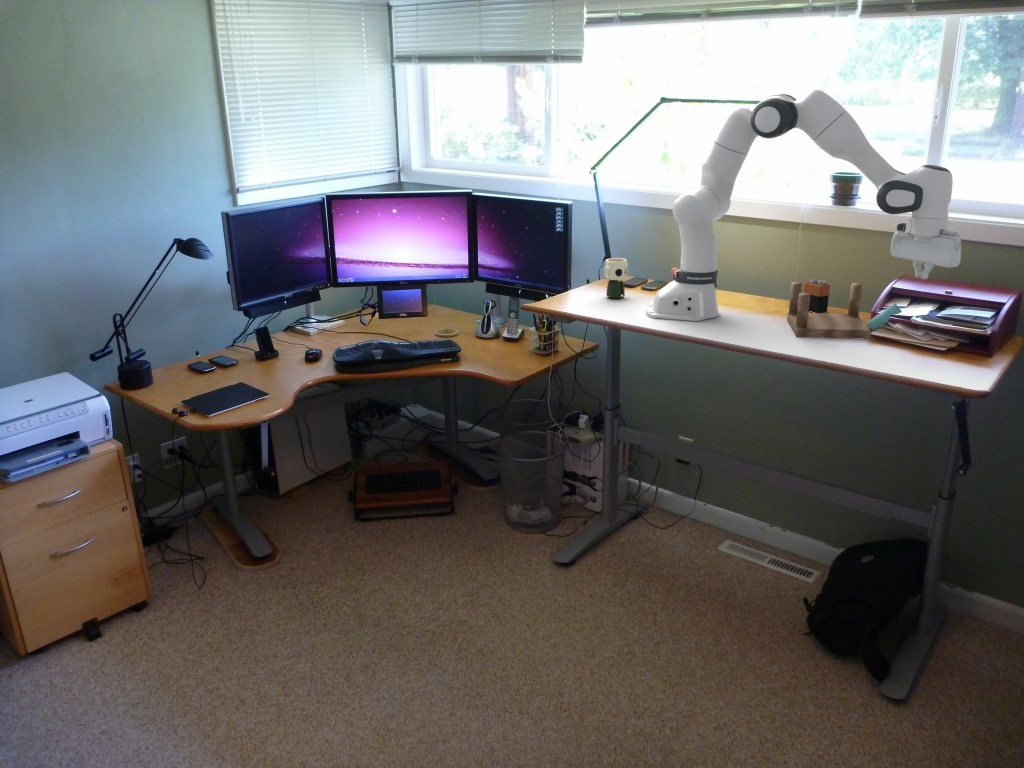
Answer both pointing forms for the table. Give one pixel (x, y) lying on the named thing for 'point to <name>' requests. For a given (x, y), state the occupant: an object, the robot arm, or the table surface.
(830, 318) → the stool
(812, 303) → the battery
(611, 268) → the character mug
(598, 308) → the table surface
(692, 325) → the table surface
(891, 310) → the folding leg
